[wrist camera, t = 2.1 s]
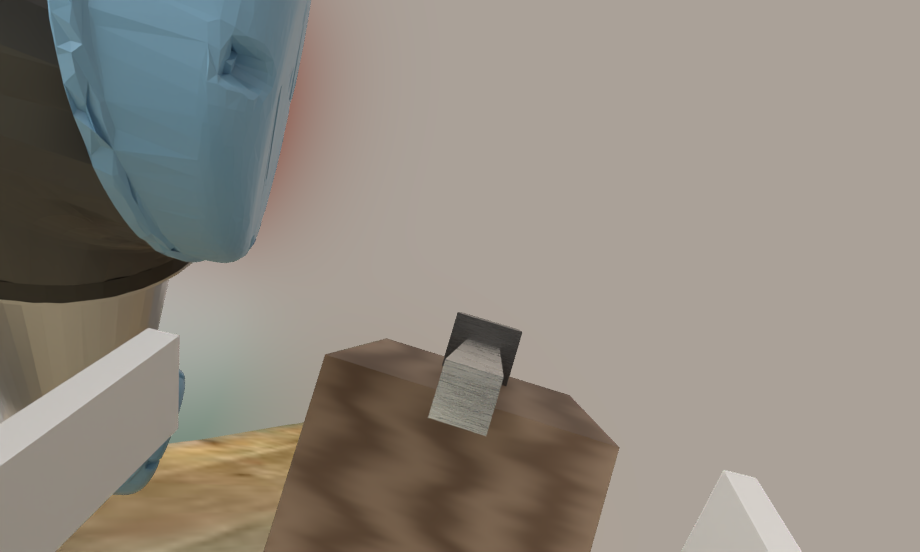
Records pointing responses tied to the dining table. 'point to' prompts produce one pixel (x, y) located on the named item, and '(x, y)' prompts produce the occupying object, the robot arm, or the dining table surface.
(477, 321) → the light grey rectangular bar
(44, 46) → the robot arm
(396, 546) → the pedestal
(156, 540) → the dining table surface
